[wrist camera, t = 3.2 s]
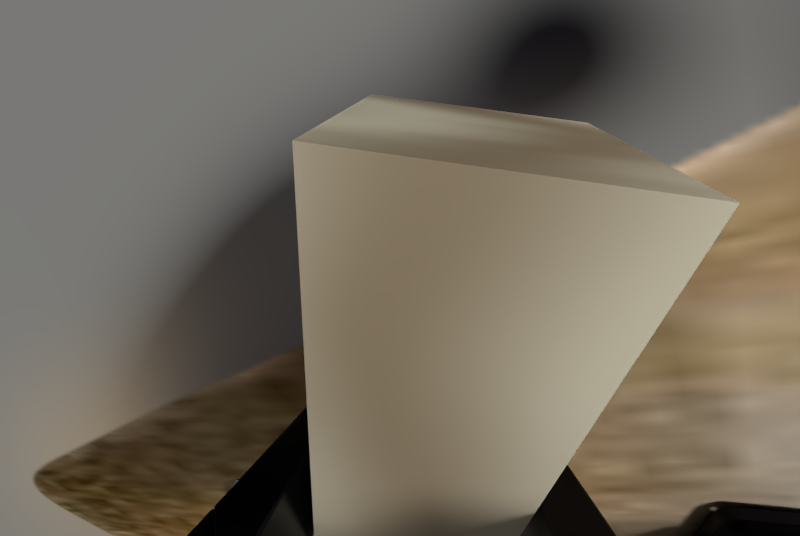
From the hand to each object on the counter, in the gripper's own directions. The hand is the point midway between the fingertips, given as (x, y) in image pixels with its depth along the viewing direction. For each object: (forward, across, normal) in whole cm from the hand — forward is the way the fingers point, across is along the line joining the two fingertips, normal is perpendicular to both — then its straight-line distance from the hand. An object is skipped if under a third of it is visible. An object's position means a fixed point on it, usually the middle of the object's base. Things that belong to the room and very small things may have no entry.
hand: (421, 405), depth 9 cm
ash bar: (+1, 0, 0) cm, 1 cm away
